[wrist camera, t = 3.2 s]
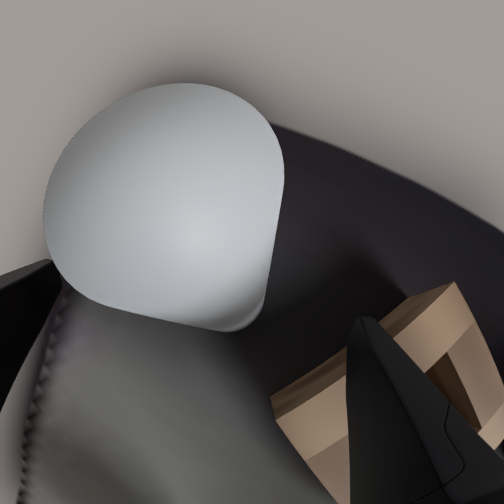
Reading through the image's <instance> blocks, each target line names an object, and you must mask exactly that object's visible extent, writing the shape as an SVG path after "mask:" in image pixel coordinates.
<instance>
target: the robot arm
mask: <svg viewBox="0 0 504 504" xmlns="http://www.w3.org/2000/svg"><path fill="white" fill-rule="evenodd" d="M61 289H62V279H61V276H60V272H59V270H58V269H57V267H56V265H55V263H54V261H53V260H49V259H44V260H41V261H39V262H36V263H33V264H30V265H28V266H25V267H22V268H19V269H17V270H14V271H11V272H9V273H6V274H4V275H1V276H0V412H1V409H2V407H3V405H4V403H5V400H6V398H7V396H8V394H9V392H10V389H11V387H12V385H13V383H14V381H15V379H16V377H17V375H18V373H19V371H20V369H21V367H22V365H23V363H24V361H25V359H26V357H27V355H28V353H29V351H30V349H31V348H32V346H33V344H34V342H35V340H36V338H37V337H38V335H39V333H40V332H41V330H42V328H43V326H44V324H45V322H46V320H47V318H48V316H49V314H50V311H51V310H52V308H53V306H54V303H55V302H56V299H57V298H58V296H59V294H60V292H61ZM346 408H347V422H348V439H349V464H350V504H504V460H503V459H502V458H501V457H500V456H499V455H498V454H497V453H496V452H495V450H494V449H493V448H492V447H491V446H490V445H489V444H488V443H487V442H486V441H485V440H484V439H483V438H482V437H481V436H480V435H479V434H478V433H477V432H476V431H475V430H474V429H473V428H472V427H471V426H470V425H469V424H468V422H467V421H466V420H465V419H464V418H463V417H462V416H461V415H460V413H459V412H458V411H457V410H456V409H455V408H454V406H453V405H452V404H451V403H449V401H448V399H447V398H446V397H445V396H444V395H443V394H442V393H441V391H440V390H439V389H438V388H437V387H436V386H435V385H434V383H433V382H432V381H431V380H430V379H429V378H428V377H427V375H426V374H425V373H424V372H423V371H422V370H421V369H420V368H419V366H418V365H417V364H416V363H415V362H414V361H413V360H412V359H411V358H410V357H409V355H408V354H407V353H406V352H405V351H404V350H403V349H402V348H401V347H400V346H399V344H398V343H397V342H396V341H395V340H394V339H393V338H392V337H391V336H390V335H389V334H388V333H387V331H386V330H385V329H384V328H383V327H382V326H381V325H380V324H379V323H378V322H377V321H376V320H375V319H374V318H373V317H372V316H365V315H359V316H357V317H356V319H355V321H354V324H353V326H352V329H351V331H350V333H349V336H348V339H347V349H346Z"/></svg>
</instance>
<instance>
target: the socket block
mask: <svg viewBox="0 0 504 504" xmlns="http://www.w3.org/2000/svg"><path fill="white" fill-rule="evenodd" d="M378 323H379V324H380V325H381V326H382V327H383V328H384V329H385V330H386V331H387V333H388V334H389V335H390V336H391V337H392V338H393V339H394V340H395V341H396V342H397V343H398V344H399V346H400V347H401V348H402V349H403V350H404V351H405V352H406V353H407V354H408V355H409V357H410V358H411V359H412V360H413V361H414V362H415V363H416V364H417V365H418V366H419V368H420V369H421V370H422V371H423V372H424V373H425V374H426V375H427V377H428V378H429V379H430V380H431V381H432V382H433V383H434V385H435V386H436V387H437V388H438V389H439V390H440V391H441V393H442V394H443V395H444V396H445V397H446V398H447V399H448V401H449V403H451V404H452V405H453V406H454V408H455V409H456V410H457V411H458V412H459V413H460V415H461V416H462V417H463V418H464V419H465V420H466V421H467V422H468V424H469V425H470V426H471V427H472V428H473V429H474V430H475V431H476V432H477V433H478V434H479V435H480V436H481V437H482V438H483V439H484V440H485V441H486V442H487V443H488V444H489V445H490V446H491V447H492V448H493V449H494V450H495V449H496V447H497V446H498V445H499V444H500V443H501V442H502V440H503V439H504V385H503V383H502V380H501V377H500V375H499V372H498V370H497V367H496V365H495V362H494V360H493V358H492V355H491V353H490V351H489V349H488V346H487V344H486V342H485V340H484V338H483V335H482V333H481V331H480V329H479V327H478V325H477V323H476V321H475V319H474V317H473V315H472V313H471V311H470V309H469V307H468V305H467V303H466V302H465V300H464V298H463V296H462V294H461V292H460V291H459V289H458V287H457V285H456V284H455V282H451V283H449V284H446V285H443V286H440V287H438V288H435V289H432V290H429V291H426V292H423V293H420V294H417V295H414V296H411V297H408V298H407V299H406V300H405V301H404V302H402V303H401V304H400V305H399V306H398V307H396V308H395V309H394V310H393V311H392V312H390V313H389V314H388V315H387V316H385V317H384V318H383V319H382V320H380V321H379V322H378ZM346 349H347V346H346V347H345V348H344V349H342V350H341V351H339V352H338V353H337V354H335V355H334V356H332V357H331V358H329V359H328V360H327V361H325V362H324V363H322V364H321V365H319V366H318V367H316V368H315V369H313V370H312V371H310V372H309V373H307V374H306V375H304V376H302V377H301V378H299V379H298V380H296V381H295V382H293V383H291V384H290V385H288V386H287V387H285V388H283V389H282V390H280V391H278V392H277V393H275V394H273V395H272V396H270V399H271V403H272V408H273V412H274V417H275V421H276V422H277V423H278V425H279V426H280V428H281V429H282V430H283V432H284V433H285V435H286V436H287V438H288V439H289V440H290V442H291V443H292V444H293V446H294V447H295V449H296V450H297V451H298V453H299V454H300V455H301V457H302V458H303V459H304V461H305V462H306V463H307V465H308V466H309V467H310V469H311V470H312V471H313V473H314V474H315V475H316V476H317V478H318V479H319V480H320V482H321V483H322V484H323V485H324V487H325V488H326V489H327V490H328V492H329V493H330V494H331V495H332V497H333V498H334V499H335V500H336V502H337V503H338V504H350V464H349V439H348V422H347V408H346Z"/></svg>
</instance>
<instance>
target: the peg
mask: <svg viewBox="0 0 504 504" xmlns="http://www.w3.org/2000/svg"><path fill="white" fill-rule="evenodd" d="M283 185H284V164H283V158H282V152H281V149H280V146H279V143H278V140H277V137H276V136H275V134H274V132H273V130H272V128H271V127H270V125H269V124H268V122H267V121H266V120H265V118H264V117H263V116H262V115H261V114H260V113H259V112H258V111H257V110H256V109H255V108H254V107H253V106H252V105H250V104H249V103H247V102H246V101H244V100H243V99H242V98H240V97H238V96H236V95H234V94H232V93H230V92H228V91H225V90H222V89H219V88H216V87H212V86H208V85H201V84H193V83H176V84H166V85H161V86H156V87H151V88H147V89H144V90H141V91H138V92H135V93H133V94H130V95H128V96H126V97H124V98H122V99H120V100H118V101H116V102H114V103H112V104H111V105H109V106H108V107H106V108H105V109H103V110H102V111H100V112H99V113H98V114H97V115H95V116H94V117H93V118H92V119H90V120H89V121H88V122H87V123H86V124H85V125H84V126H83V127H82V128H81V129H80V130H79V131H78V132H77V133H76V135H75V136H74V137H73V138H72V139H71V141H70V142H69V144H68V145H67V146H66V148H65V149H64V151H63V152H62V154H61V156H60V157H59V159H58V161H57V163H56V165H55V167H54V169H53V172H52V174H51V177H50V180H49V183H48V186H47V190H46V195H45V200H44V210H43V226H44V234H45V239H46V244H47V246H48V250H49V252H50V255H51V257H52V259H53V261H54V263H55V265H56V267H57V269H58V270H59V272H60V273H61V274H62V276H63V277H64V278H65V280H66V281H67V282H69V283H70V284H71V285H72V286H73V287H74V288H75V289H76V290H77V291H79V292H80V293H82V294H83V295H84V296H86V297H87V298H89V299H91V300H93V301H96V302H98V303H100V304H102V305H106V306H109V307H113V308H117V309H121V310H124V311H128V312H132V313H136V314H141V315H145V316H149V317H153V318H158V319H162V320H166V321H171V322H176V323H180V324H185V325H190V326H195V327H200V328H205V329H210V330H215V331H221V332H236V331H239V330H242V329H244V328H246V327H248V326H249V325H251V324H252V323H253V322H254V321H255V320H256V319H257V317H258V316H259V314H260V312H261V310H262V307H263V303H264V298H265V292H266V287H267V281H268V275H269V270H270V264H271V258H272V253H273V247H274V241H275V235H276V229H277V223H278V217H279V211H280V205H281V199H282V192H283Z"/></svg>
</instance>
